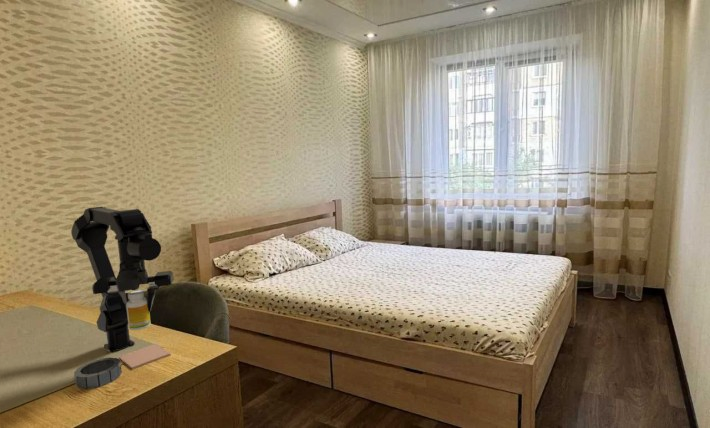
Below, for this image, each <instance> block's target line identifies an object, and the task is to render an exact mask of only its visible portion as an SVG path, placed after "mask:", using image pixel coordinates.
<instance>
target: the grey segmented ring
mask: <svg viewBox="0 0 710 428" xmlns="http://www.w3.org/2000/svg"><path fill="white" fill-rule="evenodd" d="M122 373H123V371H122V362H121V360H120V359H119V357H105V358H104V357H103V358H99V359H95V360H91V361H88V362H87V363H85V364H83V365H81V366H79V367H77V369H75V371H74V372H73V376H74V382H75V386H76V387H77V388H78V389H82V390H83V389H84V390H90V389H95V388H96V389H97V388H100V387H103V386H105V385H108V384H110V383H113V382H114V381H115V380H117V379H119V378H120V376H121V375H122Z"/></svg>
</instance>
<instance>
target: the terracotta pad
mask: <svg viewBox="0 0 710 428" xmlns="http://www.w3.org/2000/svg"><path fill="white" fill-rule="evenodd" d="M171 355H172V354H171V352H169V351H168V350H166V349H165V348H164V347H162V346H160V345H159V344H157V343H154V344H150V345H149V346H145V347H143V348H140V349H137V350H134V351H131V352H128V353H125V354H122V355H119V356H118V359H119V360H120V359H121V360H122V363H124V364H125V365H126V366H127V367H129V368H130V369H131V370H134V369H137V368H140V367H142V366H144V365H147V364H148V365H149V364H151V363H153V362H156V361H159V360H161V359H163V358H164V359H165V358H167V357H169V356H171ZM121 360H120V361H121Z"/></svg>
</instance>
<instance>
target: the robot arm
mask: <svg viewBox="0 0 710 428" xmlns="http://www.w3.org/2000/svg"><path fill="white" fill-rule="evenodd" d="M146 218H147V217H146V216H145V215H144V213H143V212H142V211H141V210H140V209H139V208H135V209H125V210H117V209H111V208H108V207H105V206H95V207H88V208H85V209H84V212H83V214H82V215H81V216H79V217H78V218H77V219H75V220H74V221H73V225H72V228H71V233H70V234H71V238H72V239H73V240H74V241H75V243H76V245H77V247H78V248H79V249H81V250H83V251H84V252H85V253H86V255H87V257H88V260H89V263H90V265H91V268H92V271H93V273H94V278H95V282H94V283H93V284H92V287H91V289H92V294H93V295H97V294H98V295H99V294H101V296H102V299H101V302H100V305H99V312H100V313H99V315H98V317H97V321H96V326H97V329H98V330H99V331H102V332H103V333H106V340H107V343H105V344H104V345H103V346H104V348H105V349H106V350H107V351H109V352H110V353H113V352H115V351H119V350H121V349H125V348H127V347H130V346H133V345H134V346H135V341H133V340H132V339H131V338H130V331H129V330H130V329H129V326H128V318H127V309H126V303H127V302H128V301H129V299H128V293H129V292H126V291H138V290H139V288H140V285H147V284H148V288H147V289H146V290H147V299H148V310H149V312H151V311H152V307H153V304H154V299H155V296H156V293H157V290H160V289H161V287H167V286H171V285H173V282H174V280H175V279H174V278H175V277H174V273H173V272H172V270H166V271H158V272H157V271H156V273H155V275H152V276H151V275H150V276H149V275H148V272H147V269H146V264H145V261H154V260H156V259H157V258H159V256H160V254H161V252H162V246H161V243H160V241H158V240H157V238H153V231H152V226H151V224H150V223H149V222H148V220H147V219H146ZM109 229H110V230H111V231H113V232H114V233H115V236H114V239H115V240H116V242H117V248H118V256H119V271H118V273H117V276H116V274H115V272H114V268H113V266H112V264H111V261H110V257H109V255H108V252H107V249H106V246H105V245H106V242H107V239H108V231H109Z"/></svg>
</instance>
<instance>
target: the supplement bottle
mask: <svg viewBox="0 0 710 428" xmlns="http://www.w3.org/2000/svg"><path fill="white" fill-rule="evenodd" d="M127 293H128V299H129V301H128V302H127V303H126V309H127V318H128V328H129V330H131V331H141V330H144V329H146V328H148V327H150V326H151V324H152V322H151V313H150V312H151V311H149V310H148V298H146V297H145V296H146V295H145V291H144V290H139V289H138V290H132V291H130V292H127Z"/></svg>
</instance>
